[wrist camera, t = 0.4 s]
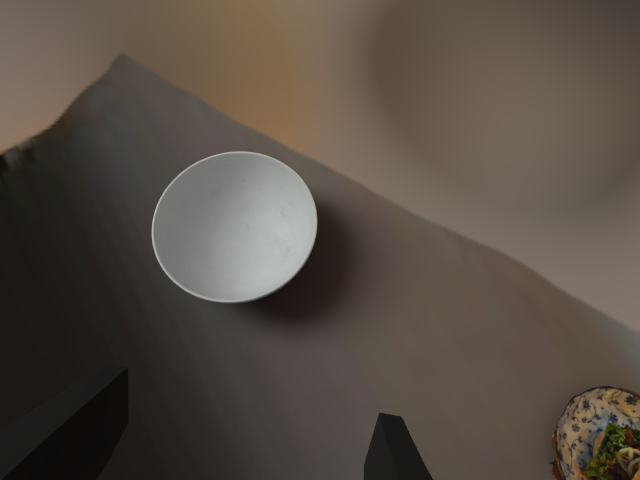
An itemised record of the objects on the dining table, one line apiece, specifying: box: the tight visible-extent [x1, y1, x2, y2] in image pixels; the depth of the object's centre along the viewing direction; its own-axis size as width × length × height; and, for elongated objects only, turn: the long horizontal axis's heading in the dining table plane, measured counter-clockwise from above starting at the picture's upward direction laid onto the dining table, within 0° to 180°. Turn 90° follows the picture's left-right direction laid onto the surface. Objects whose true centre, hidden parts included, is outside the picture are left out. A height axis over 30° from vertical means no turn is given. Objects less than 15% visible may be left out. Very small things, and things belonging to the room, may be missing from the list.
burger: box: [549, 386, 640, 480], centre depth 34 cm, size 12×12×8 cm
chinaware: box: [152, 152, 317, 304], centre depth 40 cm, size 15×15×8 cm
